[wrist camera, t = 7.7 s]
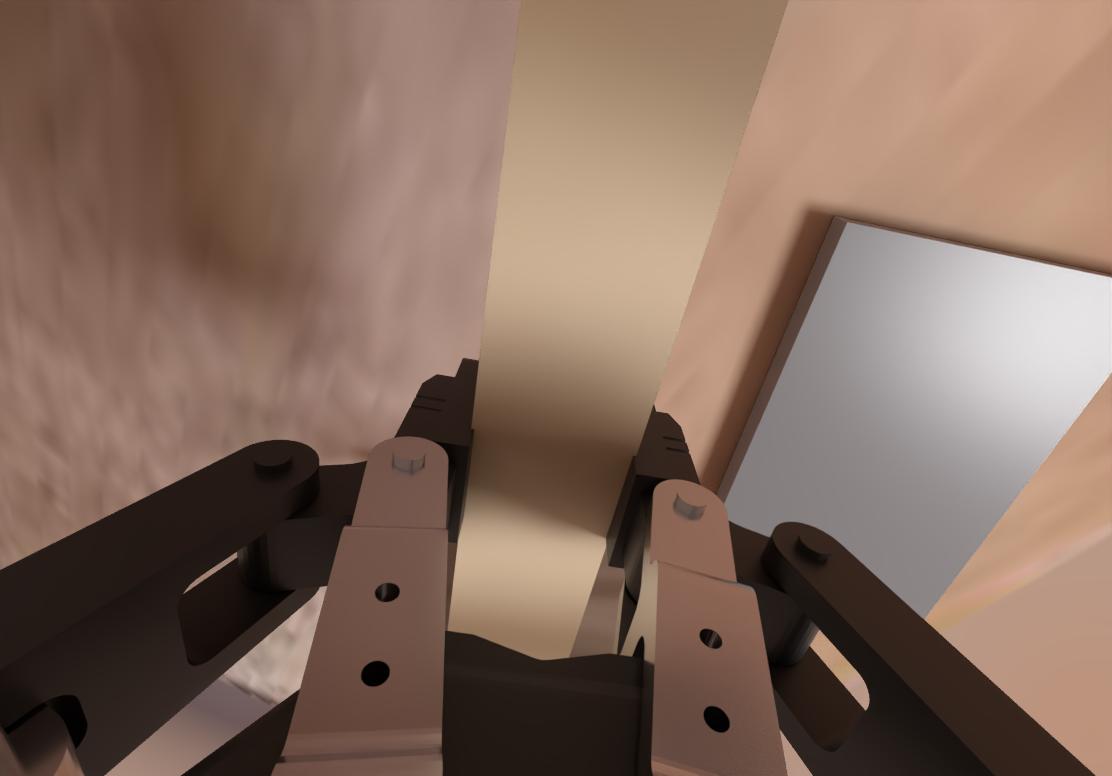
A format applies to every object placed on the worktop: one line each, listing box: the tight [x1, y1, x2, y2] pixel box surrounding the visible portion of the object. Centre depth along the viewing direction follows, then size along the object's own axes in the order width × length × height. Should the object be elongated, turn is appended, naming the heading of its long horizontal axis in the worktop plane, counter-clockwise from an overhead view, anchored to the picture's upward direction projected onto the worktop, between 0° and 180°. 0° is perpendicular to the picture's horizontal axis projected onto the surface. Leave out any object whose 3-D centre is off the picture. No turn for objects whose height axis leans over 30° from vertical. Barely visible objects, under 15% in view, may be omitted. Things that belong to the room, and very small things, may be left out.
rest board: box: [716, 216, 1112, 619], centre depth 27 cm, size 20×14×1 cm
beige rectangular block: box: [445, 0, 788, 660], centre depth 12 cm, size 15×8×5 cm, turn 170°
